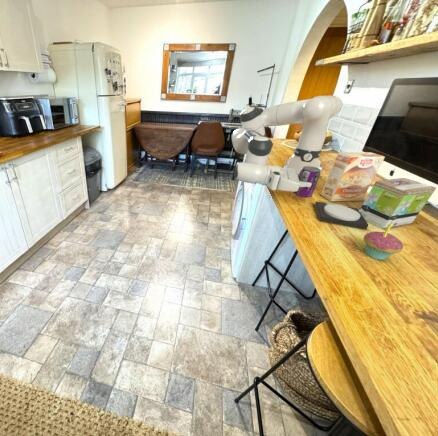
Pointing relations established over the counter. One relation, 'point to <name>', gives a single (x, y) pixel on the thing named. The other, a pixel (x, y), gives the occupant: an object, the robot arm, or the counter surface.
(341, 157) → the coffeecake box
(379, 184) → the tea box
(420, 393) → the counter surface
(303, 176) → the beverage can
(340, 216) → the scale
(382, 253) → the cupcake
